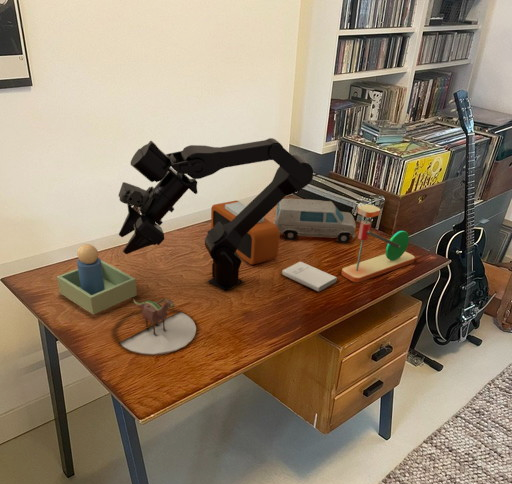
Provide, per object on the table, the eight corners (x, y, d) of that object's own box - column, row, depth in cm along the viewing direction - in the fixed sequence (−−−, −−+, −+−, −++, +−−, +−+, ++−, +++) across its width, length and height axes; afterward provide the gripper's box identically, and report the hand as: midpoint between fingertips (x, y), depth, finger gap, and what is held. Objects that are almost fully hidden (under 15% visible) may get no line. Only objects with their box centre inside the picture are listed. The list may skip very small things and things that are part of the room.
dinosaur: (212, 333, 119) (212, 291, 112) (145, 365, 108) (141, 321, 102) (164, 300, 129) (162, 261, 122) (99, 327, 118) (93, 285, 112)
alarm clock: (210, 234, 161) (210, 198, 155) (233, 229, 165) (234, 194, 159) (253, 267, 145) (255, 229, 139) (277, 261, 149) (281, 223, 143)
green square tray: (137, 298, 129) (135, 278, 126) (93, 318, 121) (90, 297, 118) (103, 278, 136) (101, 259, 133) (60, 296, 128) (56, 276, 125)
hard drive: (318, 292, 136) (281, 275, 143) (336, 282, 141) (300, 265, 148) (318, 287, 135) (282, 269, 142) (337, 276, 140) (301, 260, 147)
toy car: (354, 244, 161) (359, 213, 155) (273, 239, 161) (276, 208, 155) (349, 229, 170) (354, 200, 164) (273, 225, 169) (275, 195, 164)
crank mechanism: (355, 283, 141) (368, 215, 130) (338, 273, 145) (349, 206, 134) (416, 261, 154) (432, 197, 143) (399, 252, 158) (413, 190, 147)
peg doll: (109, 294, 128) (103, 245, 120) (91, 302, 125) (83, 252, 117) (96, 286, 131) (89, 237, 123) (77, 294, 127) (69, 244, 120)
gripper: (132, 158, 121) (90, 208, 125) (144, 185, 107) (96, 241, 111) (168, 188, 128) (128, 235, 132) (184, 218, 114) (137, 269, 118)
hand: (122, 244), depth 123 cm, fingers open, 9 cm apart
